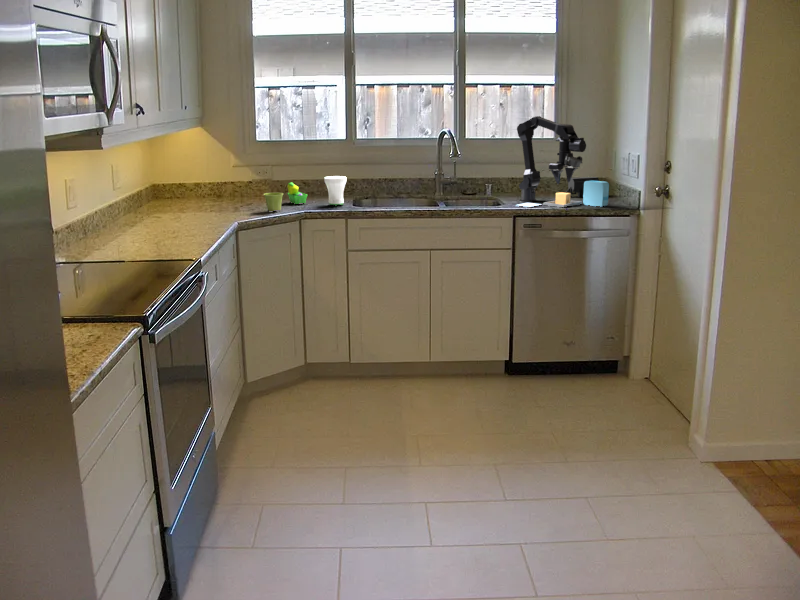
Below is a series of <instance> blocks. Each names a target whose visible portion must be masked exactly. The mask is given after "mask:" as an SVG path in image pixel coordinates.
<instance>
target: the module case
mask: <svg viewBox="0 0 800 600" xmlns="http://www.w3.org/2000/svg"><path fill="white" fill-rule="evenodd" d="M555 201H556V199H555V200H551V201H545V202H543V204H542V206H543V205H548V206H547V207H550V206H557V207H556V208H559V207H567V206H572V207H574V206H573V205H577V206H581V205H580V204H582V205H583V200H572V199H570V203H569V204H564V205H562V204H555ZM567 208H568V207H567Z"/></svg>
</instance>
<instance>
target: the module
mask: <svg viewBox="0 0 800 600" xmlns="http://www.w3.org/2000/svg"><path fill="white" fill-rule="evenodd" d="M570 196H572V194H571V193H565V192H556V193H555V200H556V201H555V200H554V201H555V204H562V205H564V204H569V203H570V200H571V197H570Z"/></svg>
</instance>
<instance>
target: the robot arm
mask: <svg viewBox="0 0 800 600" xmlns="http://www.w3.org/2000/svg"><path fill="white" fill-rule="evenodd" d="M538 127H542V128H544V129H546V130H549V131H552V132H554V133H555V134H556V135H557V136H558V138H557V139H555V142H559V149H558V151H559V152H557V153H556V154H557V156H558V161H556V162H552V163H549V164H548V170H550V172H551V173H552V176H553V178H554V180H555V182H556V184H557V185H559V184H560V183H561V175H562V173H563V172H564V171H565V176H566V180H567V183H568V182H570V180H571V178H573V176H574V172H575V171H576V170H578V169H579V168H580V166H581V164H583V157H582V156H580V155H579V156H576V157H575V156H574V153H573V152H576V153H578V152H579V153H584V152H585V151H586V149H587V143H586V140H585V137H579V136H578V134H577V133H576V130H575V127H574V125H572V124H570V123H569V124H568V123H567V124H566V123H558V122H556V121H552V120H551V119H547V118H544V117H542V116H540V115H539V116H533V117H531V118H530V119H528V120H526V121H524V122H522V123H519V124H518V125H517V127H516V130H517V136H518V137H519V139H520V141H521V144H522V152H523V159H524V173H523V178H522V181H521V182H520V183H519V184H518V187H519V190H521V196H520V197H521V199H519V201H522V202H527V203H531V202H535V201H537V199H536V189H538V186H539V184H540V182H541V179H542V178H541V172H540V170H537V169H536V165H535V156H534V148H533V138H534V135H535V133H534V132H535V130H536V129H537V128H538Z"/></svg>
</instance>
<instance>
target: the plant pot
mask: <svg viewBox="0 0 800 600" xmlns="http://www.w3.org/2000/svg"><path fill="white" fill-rule="evenodd" d="M283 195H284V193H283V192H265V193H263V196H264V198H265V203H266V207H267V208H266V209H267V211H268V210H269V211H274V210H281V211H282V199H283Z"/></svg>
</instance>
